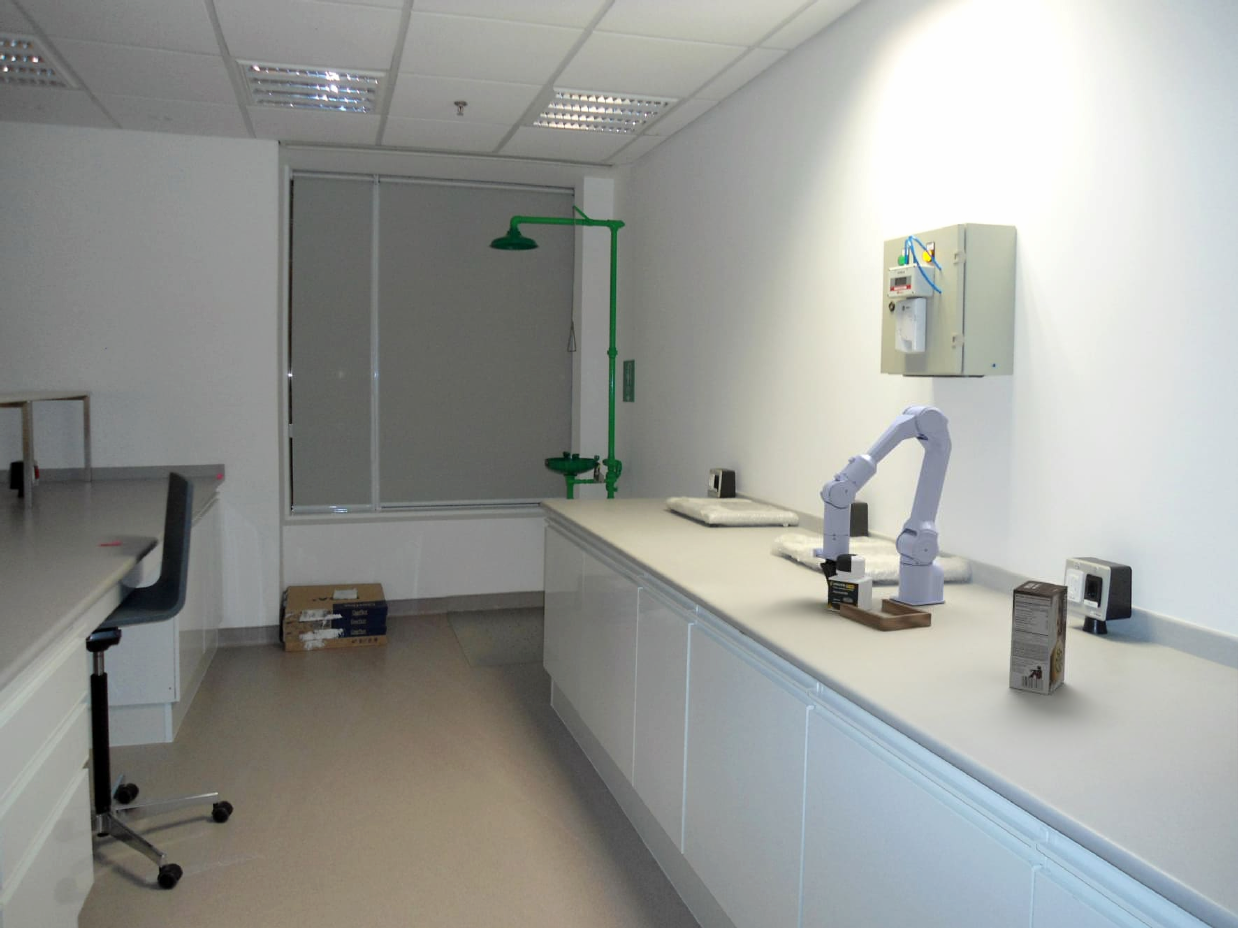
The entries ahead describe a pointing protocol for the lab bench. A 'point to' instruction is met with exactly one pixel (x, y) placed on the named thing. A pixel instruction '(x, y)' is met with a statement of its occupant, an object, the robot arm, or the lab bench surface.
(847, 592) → the medicine bottle
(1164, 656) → the lab bench surface
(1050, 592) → the coffee box
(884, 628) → the frame
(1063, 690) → the lab bench surface
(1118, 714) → the lab bench surface
